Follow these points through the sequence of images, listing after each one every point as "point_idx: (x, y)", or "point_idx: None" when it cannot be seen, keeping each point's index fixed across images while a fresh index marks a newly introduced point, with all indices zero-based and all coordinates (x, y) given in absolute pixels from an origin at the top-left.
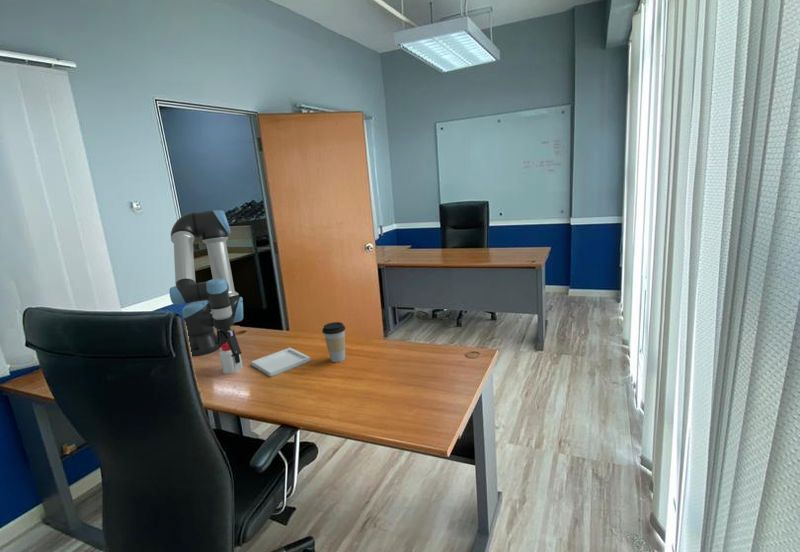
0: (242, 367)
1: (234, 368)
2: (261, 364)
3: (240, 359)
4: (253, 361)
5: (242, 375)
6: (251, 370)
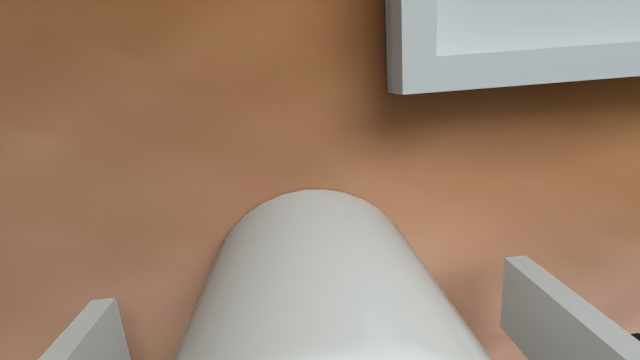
0: (360, 198)
1: (518, 345)
2: (522, 2)
3: (407, 255)
4: (434, 72)
5: (551, 254)
6: (521, 147)
